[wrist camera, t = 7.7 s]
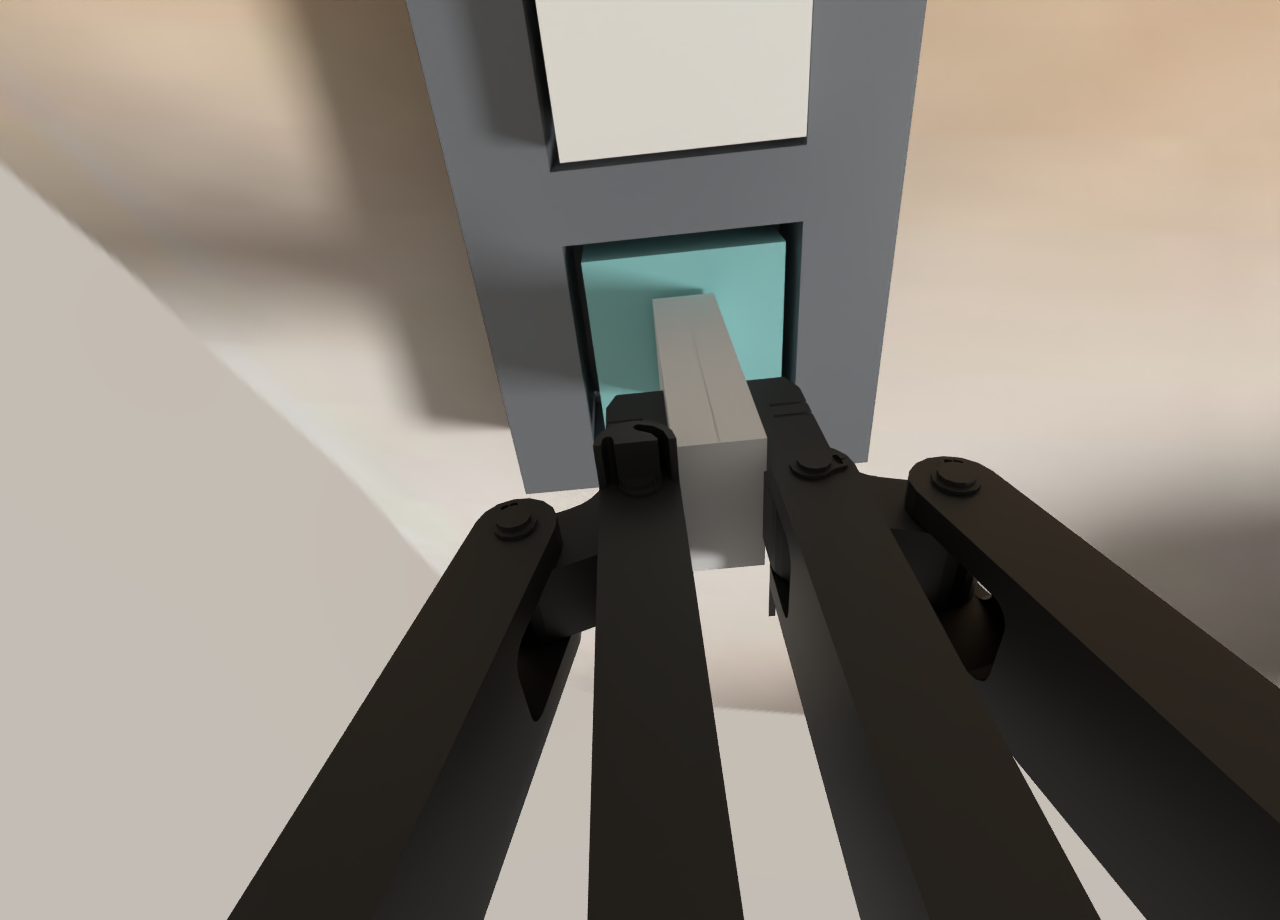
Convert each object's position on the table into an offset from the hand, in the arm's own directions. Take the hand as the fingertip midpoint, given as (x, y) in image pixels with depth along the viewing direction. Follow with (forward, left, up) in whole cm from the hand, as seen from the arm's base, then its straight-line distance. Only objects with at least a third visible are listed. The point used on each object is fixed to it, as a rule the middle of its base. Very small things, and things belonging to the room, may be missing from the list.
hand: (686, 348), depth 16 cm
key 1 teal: (0, 0, -3) cm, 3 cm away
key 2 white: (+7, 0, -1) cm, 7 cm away
